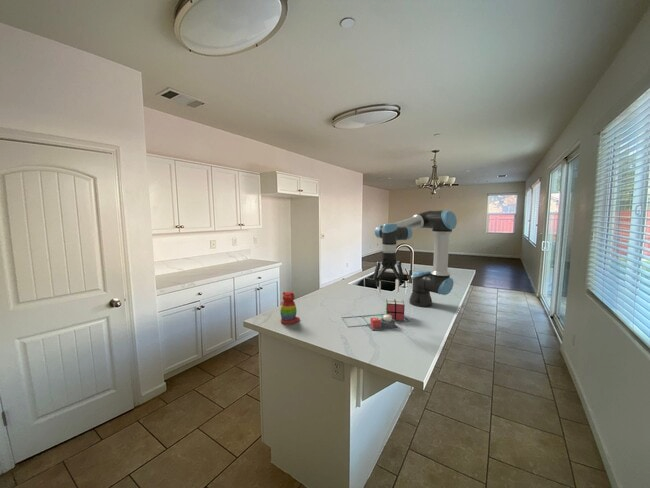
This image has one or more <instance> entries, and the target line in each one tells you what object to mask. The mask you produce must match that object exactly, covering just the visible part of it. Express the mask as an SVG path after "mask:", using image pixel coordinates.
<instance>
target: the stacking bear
mask: <svg viewBox="0 0 650 488" xmlns="http://www.w3.org/2000/svg"><path fill="white" fill-rule="evenodd" d="M282 300H283V301H282V302H281V306H280V309H279V310H280V311H279V313H280V323H281V324H282V325H288V326H289V325H294V324H297V323H298V322H300V320H301V318H300V317H299V316H297V312H298V311H297V310H298V309H297V305H296V302H295V301H294V300H295V294H294V292H291V291H286V292H285V291H283V292H282Z"/></svg>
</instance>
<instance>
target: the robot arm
mask: <svg viewBox="0 0 650 488" xmlns="http://www.w3.org/2000/svg"><path fill="white" fill-rule="evenodd" d="M457 223H458V221H457V216H456V214H455V213H454V212H453V211H452V210H446V209H445V210H443V209H442V210H426V211H423V212H420V213H416V214H414V215H412V217H409V218H406V219H403V220H399V221H396V222H391V223H383V224H382V225H378V226H376V227H375V229H374V235H375V236H376V237H377V238H378V239H381V241H382V243H381V246H382V247H381V251H382V252H381V261H380V262H379V261H376V263H375V264H376V265H375V269H374V273H373V276H372V280H374V281H375V286H376V287H377V289H376V290H377V292H378V294H381V292H382V291H381V289H382V283H381V279H382V277H383V275H384V273H385V272H386V271H387V270H392V272H393V273H394V276H395V277H396V279H395V287H394V288H395V290H394V291H396V292H397V293H399V292H400V286H401V281H402V280H404V279H405V275H404V271H403V268H402V261H400V260H397V243H398V241H407V240H409V239H411V238H412V236H413V230H415V229H417V230H420V229H432V233H433V234H434V241H433V264H432V265H433V266H432V271H430V270H417V271H413V273H412V286H411V287H412V288H411V289H412V290H411V295H410V296H409V299H408V300H409V301H408V303H409V304H410V305H411V306H415V307H420V308H423V307H424V308H428V307H431V306H432V305H433V300H432V296H431V293H434V294H438V295H442V296H447V295H449V294H450V293H451V291H452V290H453V287H454V283H455V281H454V280H453V278H452V277H450V276H451V274H450V273H449V272H448V269H449V267H448V265H449V251H450V250H449V249H450V247H449V246H450V244H449V243H450V234H452V232H453V230H454V229H456V227H457ZM396 267H397V268H396Z"/></svg>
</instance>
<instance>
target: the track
mask: <svg viewBox="0 0 650 488" xmlns="http://www.w3.org/2000/svg"><path fill="white" fill-rule="evenodd" d="M385 314H386V313H380V314H379V313H377V314H367V315H354V316H353V315H352V316H342V317H341V320H342V321H343V322H344V324H345V325H346V326H347V328H355V327H356V328H357V327H365V326H366V327H367V326H368V325H367V324H370V323H369V321H367V320H366V319H365V318H364V317H371V316H374V317H375V316H381V317H382V318H383V315H385ZM360 317H361V318H362V319H363V320H364V322H366V323H367V324H360V325H351V326H350V325H348V323H347V321H346V320H345V318H360ZM404 319H405V320H404V321H395V324H400V323H410V322H411V320H410V319H408V318H407V317H406V316H404Z"/></svg>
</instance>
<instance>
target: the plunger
mask: <svg viewBox="0 0 650 488" xmlns="http://www.w3.org/2000/svg"><path fill="white" fill-rule="evenodd" d="M384 314H385V315H382V316H383V317H382V318H383V321H384V322H392V316H391V315H388V314H386V313H384Z"/></svg>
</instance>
